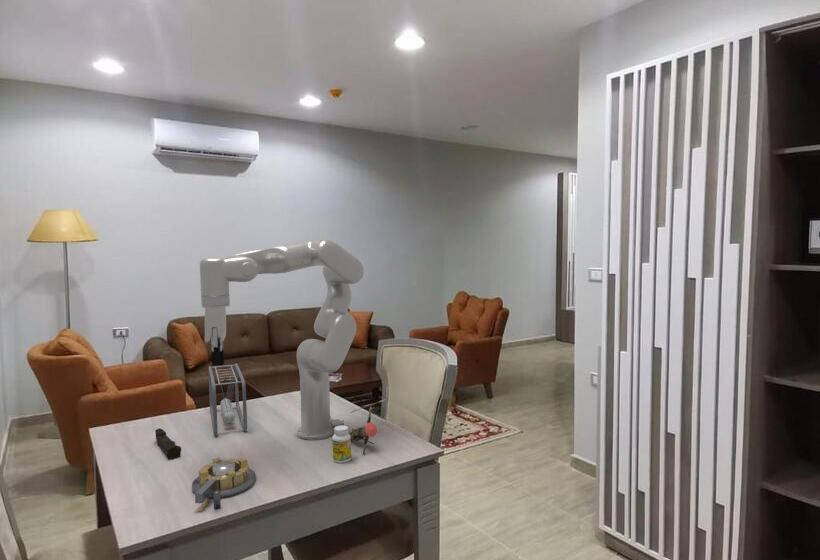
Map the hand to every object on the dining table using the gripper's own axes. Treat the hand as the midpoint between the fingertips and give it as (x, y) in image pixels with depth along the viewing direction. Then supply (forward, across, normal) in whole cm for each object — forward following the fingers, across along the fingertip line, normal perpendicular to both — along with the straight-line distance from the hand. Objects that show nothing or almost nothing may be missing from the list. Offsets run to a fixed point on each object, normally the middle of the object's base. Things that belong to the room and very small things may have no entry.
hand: (218, 364), depth 148 cm
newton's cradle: (+29, -36, -2) cm, 47 cm away
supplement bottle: (+29, +7, +34) cm, 45 cm away
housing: (+29, +17, +2) cm, 34 cm away
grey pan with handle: (+28, +17, +1) cm, 33 cm away
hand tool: (+30, -15, -19) cm, 38 cm away
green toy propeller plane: (+30, -3, +41) cm, 51 cm away
